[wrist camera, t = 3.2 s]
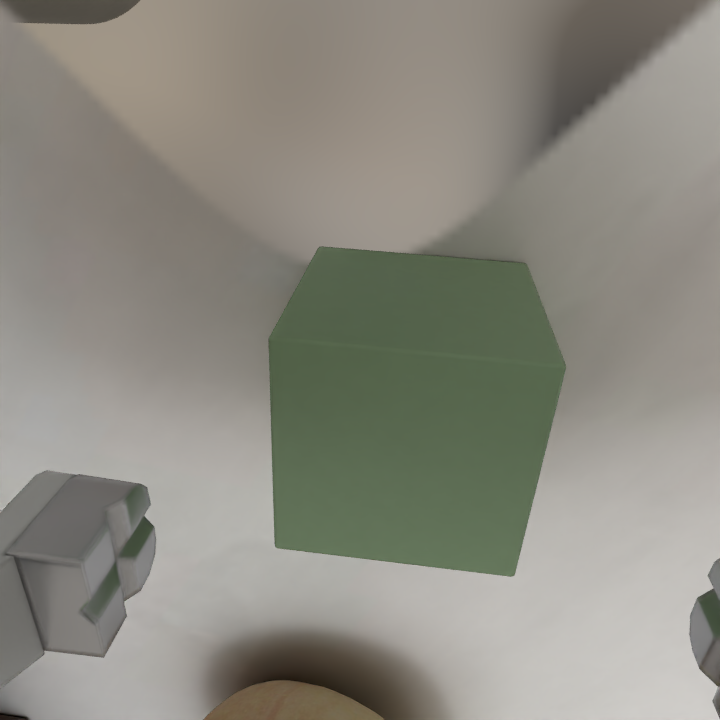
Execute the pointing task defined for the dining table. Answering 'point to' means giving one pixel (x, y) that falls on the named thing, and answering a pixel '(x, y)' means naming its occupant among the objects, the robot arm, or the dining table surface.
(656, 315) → the dining table surface
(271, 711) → the apple
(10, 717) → the cabinet
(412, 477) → the block
